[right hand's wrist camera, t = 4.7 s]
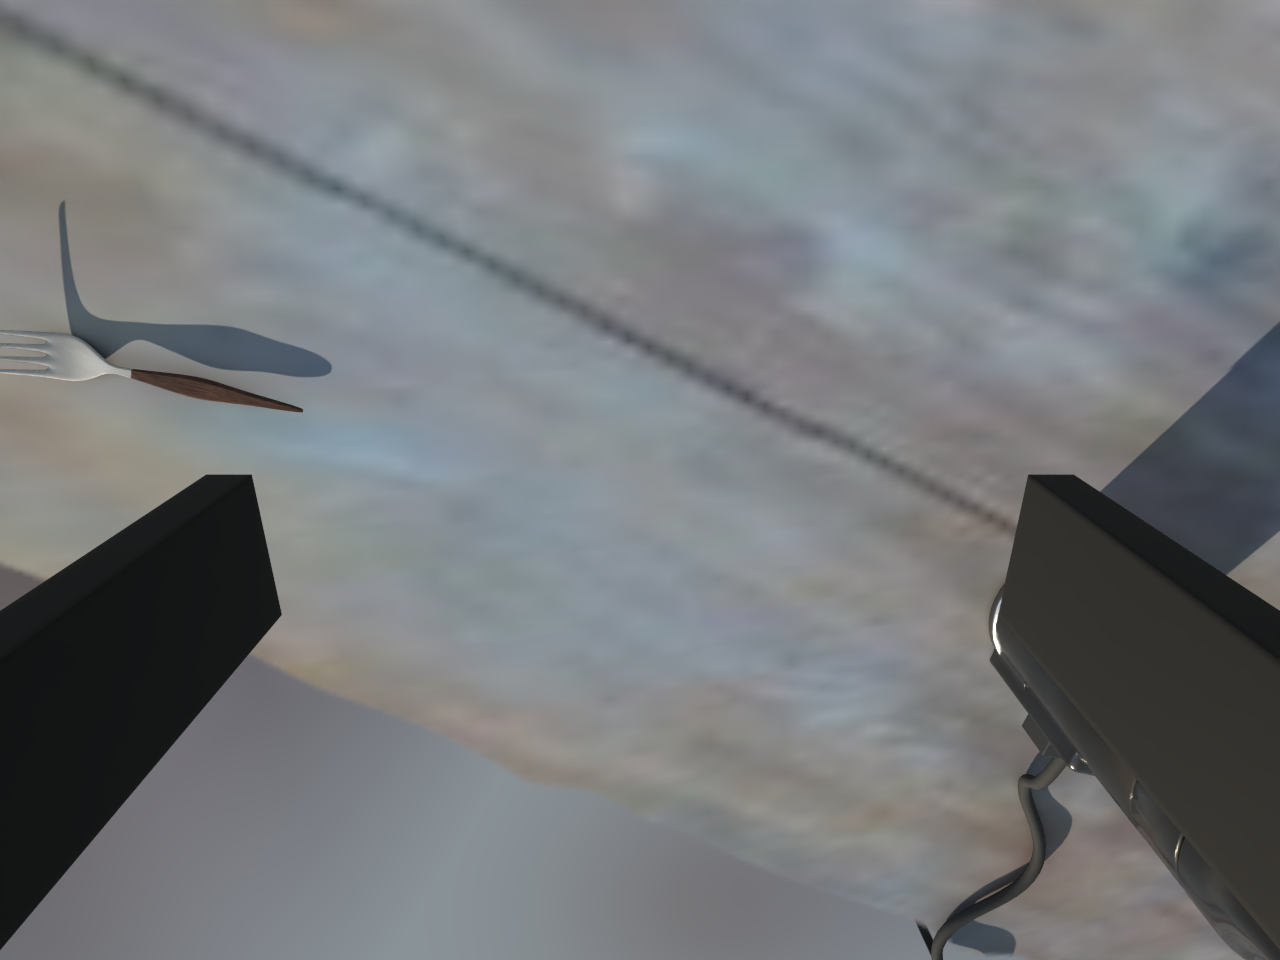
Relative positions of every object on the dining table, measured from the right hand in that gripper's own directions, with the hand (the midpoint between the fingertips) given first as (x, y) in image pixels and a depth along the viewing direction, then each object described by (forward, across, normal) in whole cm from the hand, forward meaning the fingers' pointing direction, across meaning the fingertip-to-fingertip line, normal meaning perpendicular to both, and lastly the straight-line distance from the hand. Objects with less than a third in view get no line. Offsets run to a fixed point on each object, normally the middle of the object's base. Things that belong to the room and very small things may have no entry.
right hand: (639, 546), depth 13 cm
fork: (+28, -26, -4) cm, 39 cm away
